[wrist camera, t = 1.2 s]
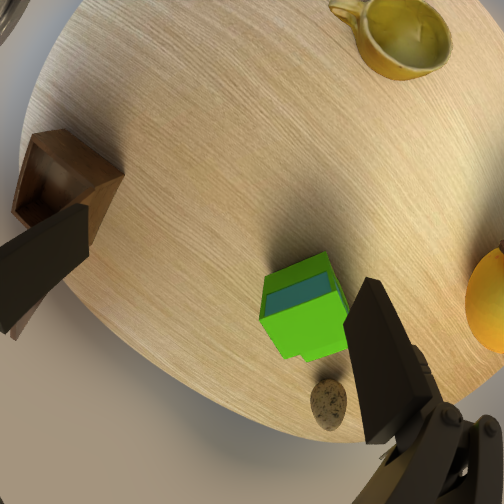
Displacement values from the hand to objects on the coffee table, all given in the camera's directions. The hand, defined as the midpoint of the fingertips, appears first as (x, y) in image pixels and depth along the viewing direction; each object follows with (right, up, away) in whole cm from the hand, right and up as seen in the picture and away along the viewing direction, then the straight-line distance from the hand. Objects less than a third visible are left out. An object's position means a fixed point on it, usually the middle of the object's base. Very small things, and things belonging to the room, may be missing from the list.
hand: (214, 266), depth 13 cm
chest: (-23, +10, +23) cm, 34 cm away
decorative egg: (+14, -22, +33) cm, 42 cm away
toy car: (+10, -6, +26) cm, 28 cm away
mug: (+15, +25, +12) cm, 31 cm away
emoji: (+38, -2, +21) cm, 43 cm away
